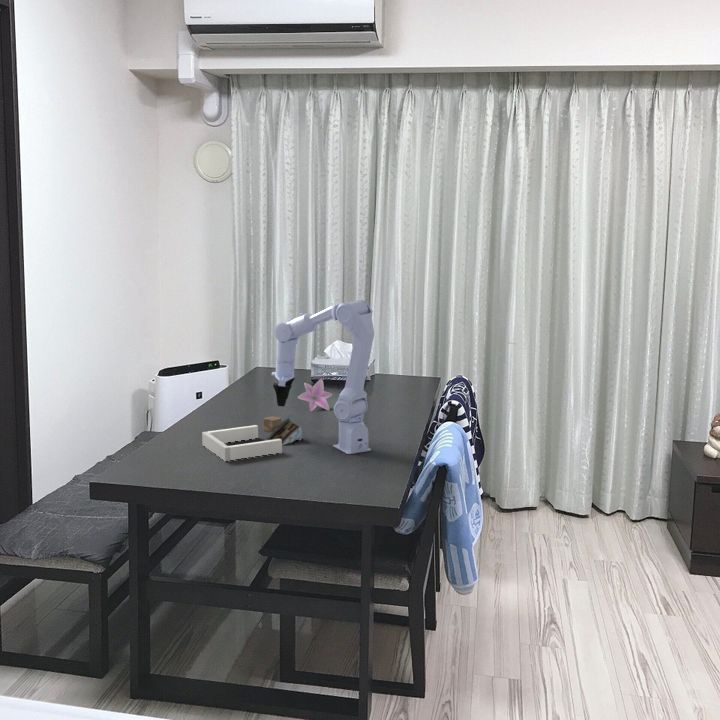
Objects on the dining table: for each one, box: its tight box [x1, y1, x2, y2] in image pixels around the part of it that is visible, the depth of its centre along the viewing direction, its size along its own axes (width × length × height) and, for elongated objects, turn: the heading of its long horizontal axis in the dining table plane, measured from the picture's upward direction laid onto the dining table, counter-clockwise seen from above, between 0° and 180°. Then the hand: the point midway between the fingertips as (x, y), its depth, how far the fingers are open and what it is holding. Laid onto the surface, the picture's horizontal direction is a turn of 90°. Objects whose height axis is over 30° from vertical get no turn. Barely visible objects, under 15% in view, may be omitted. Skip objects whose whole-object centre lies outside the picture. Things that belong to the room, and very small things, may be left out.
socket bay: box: [201, 424, 283, 462], centre depth 251 cm, size 19×18×4 cm
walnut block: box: [263, 415, 282, 433], centre depth 272 cm, size 4×4×4 cm
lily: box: [297, 378, 333, 412], centre depth 300 cm, size 12×12×10 cm
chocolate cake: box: [264, 414, 303, 446], centre depth 260 cm, size 10×7×12 cm
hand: (282, 402), depth 264 cm, fingers open, 7 cm apart
